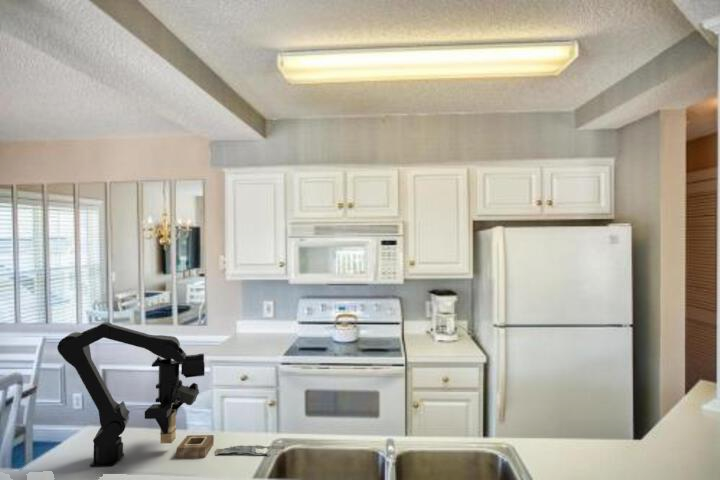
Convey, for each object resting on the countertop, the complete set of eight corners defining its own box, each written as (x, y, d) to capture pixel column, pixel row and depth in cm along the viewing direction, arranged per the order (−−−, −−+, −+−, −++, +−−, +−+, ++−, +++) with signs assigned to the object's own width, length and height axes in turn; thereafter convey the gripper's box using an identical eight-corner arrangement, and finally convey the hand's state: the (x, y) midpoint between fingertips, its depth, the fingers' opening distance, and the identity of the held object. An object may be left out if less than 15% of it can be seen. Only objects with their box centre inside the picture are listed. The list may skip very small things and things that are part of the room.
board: (176, 458, 122) (176, 447, 122) (187, 445, 130) (187, 435, 130) (205, 457, 122) (205, 446, 122) (213, 444, 130) (213, 434, 130)
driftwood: (211, 457, 123) (211, 450, 123) (220, 446, 130) (220, 440, 130) (280, 460, 122) (280, 452, 122) (285, 449, 129) (285, 442, 129)
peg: (160, 443, 124) (160, 413, 124) (164, 438, 127) (165, 409, 127) (171, 443, 124) (171, 413, 124) (175, 438, 127) (176, 409, 128)
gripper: (184, 388, 117) (183, 444, 117) (205, 370, 136) (205, 418, 135) (144, 389, 117) (143, 445, 116) (171, 370, 135) (170, 418, 135)
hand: (168, 430), depth 126 cm, fingers closed on peg, 3 cm apart
